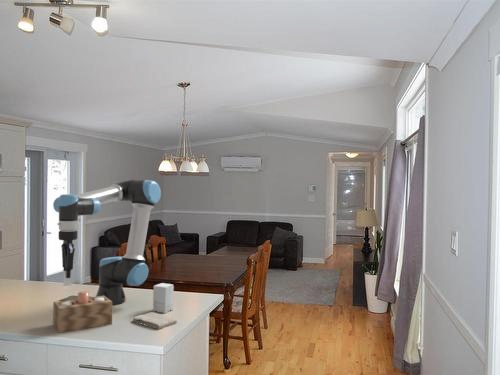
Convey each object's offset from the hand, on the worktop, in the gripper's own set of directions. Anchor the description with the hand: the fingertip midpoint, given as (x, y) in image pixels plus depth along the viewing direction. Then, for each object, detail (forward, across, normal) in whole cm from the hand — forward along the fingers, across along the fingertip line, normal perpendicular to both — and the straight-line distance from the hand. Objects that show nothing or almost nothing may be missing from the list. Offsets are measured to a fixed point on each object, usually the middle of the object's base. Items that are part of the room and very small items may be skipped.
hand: (67, 285), depth 196 cm
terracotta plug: (+13, 0, +7) cm, 15 cm away
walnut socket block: (+18, 0, +7) cm, 19 cm away
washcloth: (+19, +13, +35) cm, 42 cm away
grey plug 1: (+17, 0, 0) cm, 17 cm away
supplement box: (+19, -2, +46) cm, 49 cm away
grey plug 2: (+17, 0, +14) cm, 22 cm away
